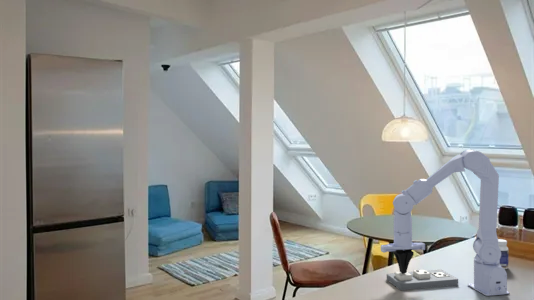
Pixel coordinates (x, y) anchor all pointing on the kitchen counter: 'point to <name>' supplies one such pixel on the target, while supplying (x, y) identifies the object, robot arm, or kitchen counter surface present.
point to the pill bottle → (503, 253)
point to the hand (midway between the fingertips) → (403, 272)
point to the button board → (423, 281)
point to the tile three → (439, 274)
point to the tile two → (421, 274)
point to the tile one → (403, 276)
